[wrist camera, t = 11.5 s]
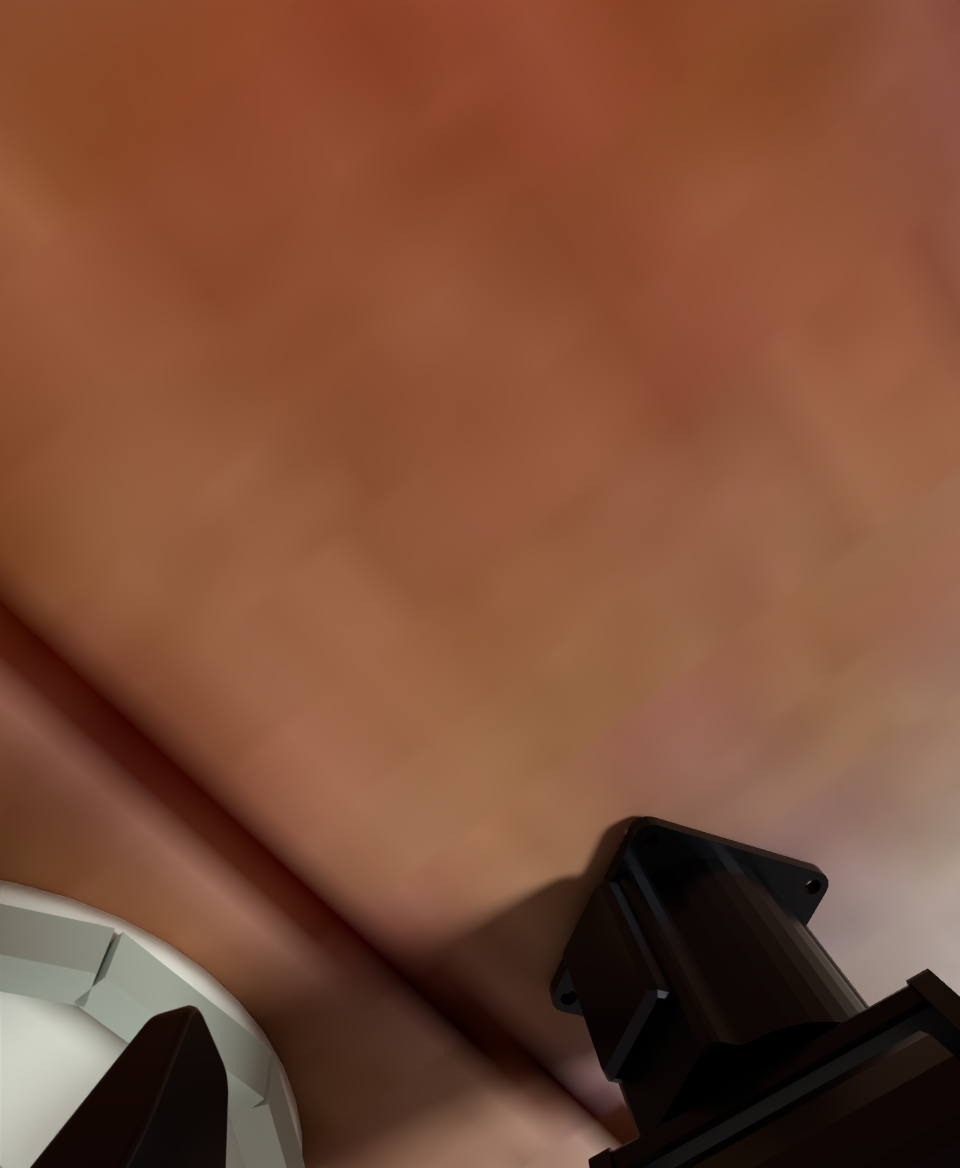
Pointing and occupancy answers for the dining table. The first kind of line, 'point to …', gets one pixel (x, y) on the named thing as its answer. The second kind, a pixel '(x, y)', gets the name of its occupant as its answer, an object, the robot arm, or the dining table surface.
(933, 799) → the dining table surface
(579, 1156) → the dining table surface
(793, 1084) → the robot arm
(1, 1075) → the tray
